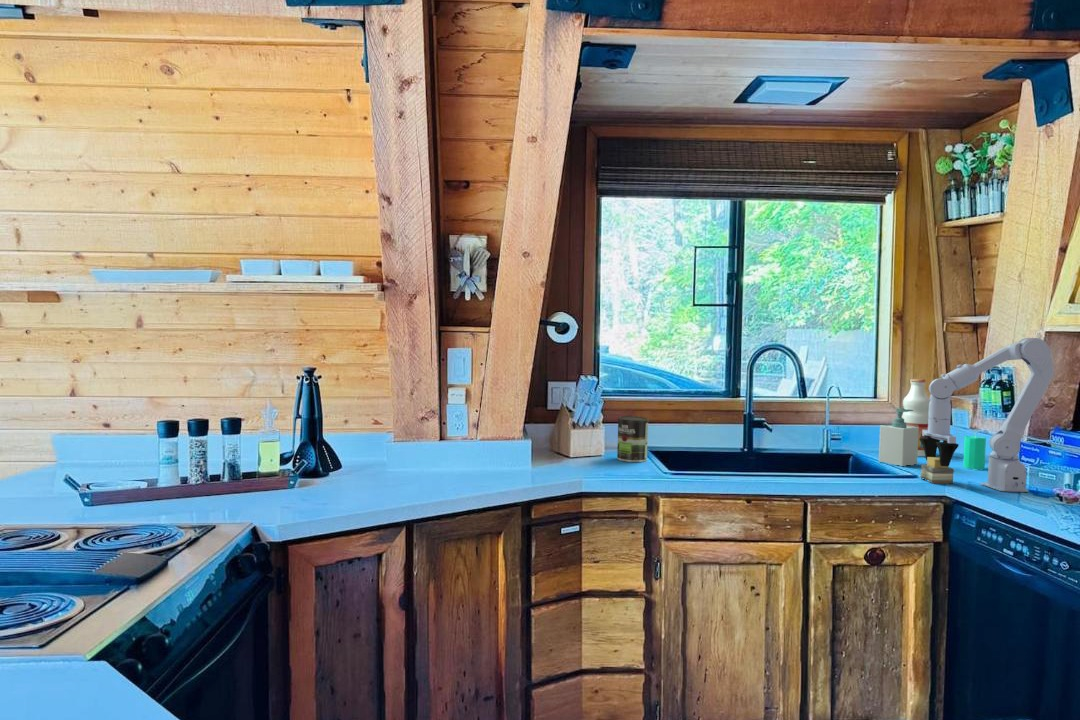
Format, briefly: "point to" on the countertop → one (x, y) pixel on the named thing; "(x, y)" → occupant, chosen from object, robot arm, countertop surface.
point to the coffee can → (632, 439)
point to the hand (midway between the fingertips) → (937, 463)
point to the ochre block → (934, 462)
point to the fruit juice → (917, 410)
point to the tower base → (937, 474)
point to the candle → (974, 452)
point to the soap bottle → (898, 442)
